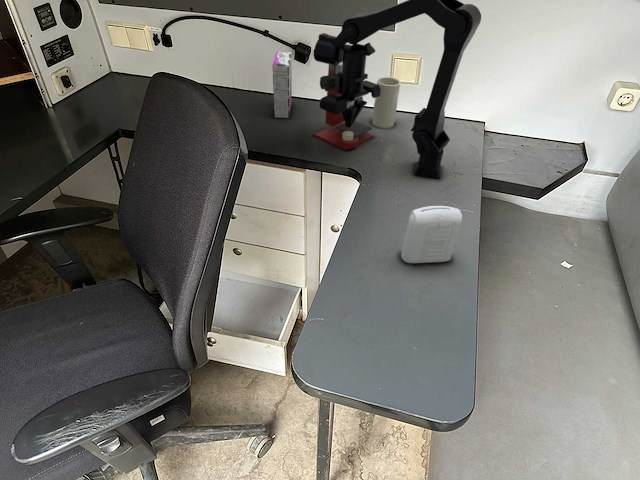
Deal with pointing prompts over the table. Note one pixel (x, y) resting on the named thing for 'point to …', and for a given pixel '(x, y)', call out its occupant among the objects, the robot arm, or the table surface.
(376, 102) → the tumbler
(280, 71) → the candy bar box
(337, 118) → the coffee maker tower
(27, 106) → the table surface
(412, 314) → the table surface
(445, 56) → the robot arm
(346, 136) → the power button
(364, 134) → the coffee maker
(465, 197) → the table surface
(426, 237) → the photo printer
